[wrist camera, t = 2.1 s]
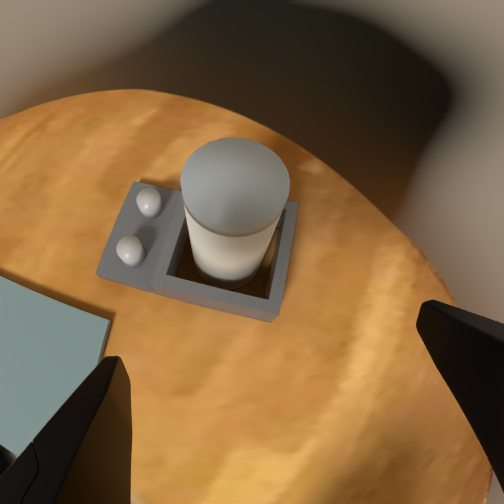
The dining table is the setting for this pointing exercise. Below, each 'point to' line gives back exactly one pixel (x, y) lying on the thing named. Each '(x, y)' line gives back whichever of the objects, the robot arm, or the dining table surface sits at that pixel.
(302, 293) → the dining table surface
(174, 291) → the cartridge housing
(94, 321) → the rubber mat
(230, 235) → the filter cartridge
